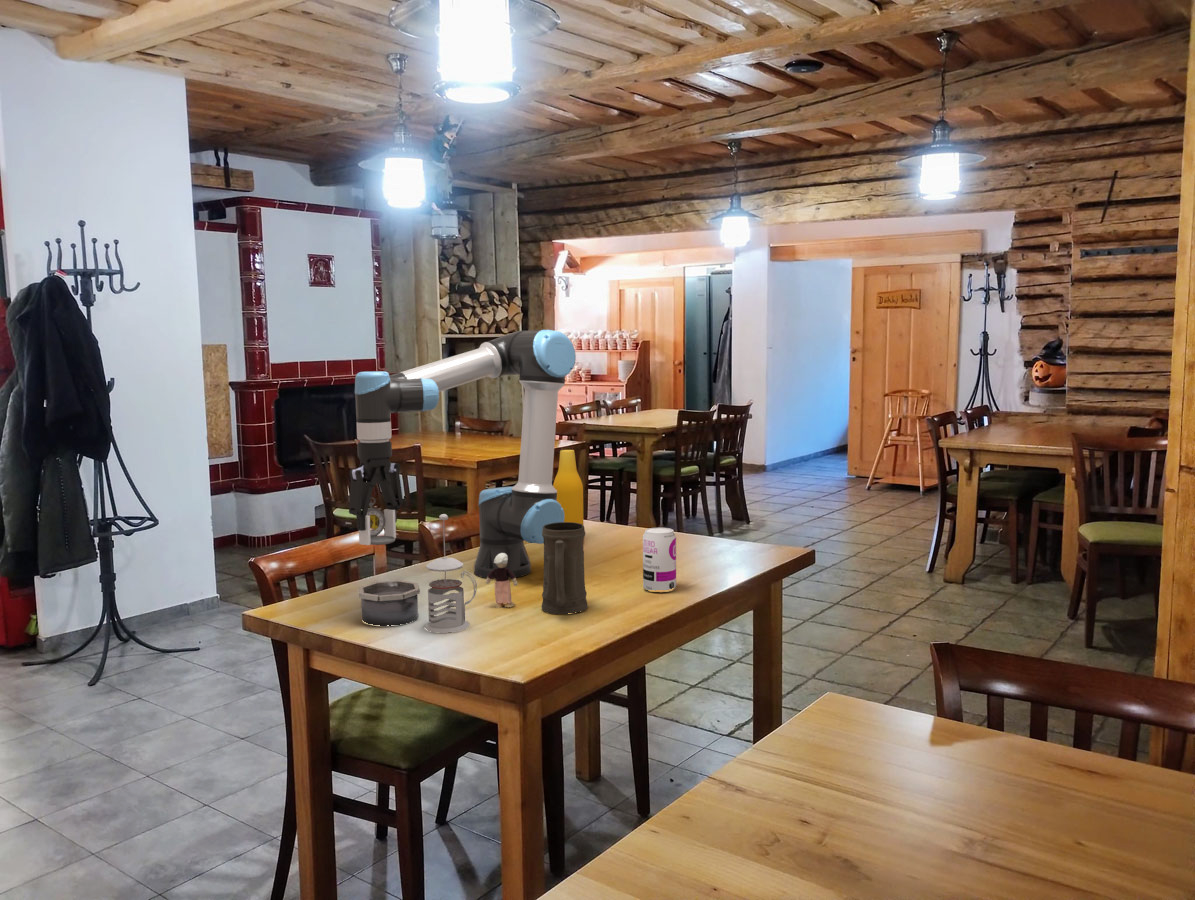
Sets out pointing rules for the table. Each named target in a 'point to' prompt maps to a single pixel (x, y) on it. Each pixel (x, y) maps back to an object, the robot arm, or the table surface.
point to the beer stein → (564, 568)
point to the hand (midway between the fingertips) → (378, 540)
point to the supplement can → (659, 559)
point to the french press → (453, 617)
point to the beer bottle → (569, 488)
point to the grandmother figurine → (502, 581)
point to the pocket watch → (377, 526)
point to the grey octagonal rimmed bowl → (389, 602)
